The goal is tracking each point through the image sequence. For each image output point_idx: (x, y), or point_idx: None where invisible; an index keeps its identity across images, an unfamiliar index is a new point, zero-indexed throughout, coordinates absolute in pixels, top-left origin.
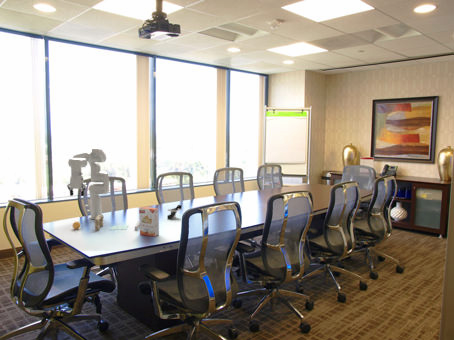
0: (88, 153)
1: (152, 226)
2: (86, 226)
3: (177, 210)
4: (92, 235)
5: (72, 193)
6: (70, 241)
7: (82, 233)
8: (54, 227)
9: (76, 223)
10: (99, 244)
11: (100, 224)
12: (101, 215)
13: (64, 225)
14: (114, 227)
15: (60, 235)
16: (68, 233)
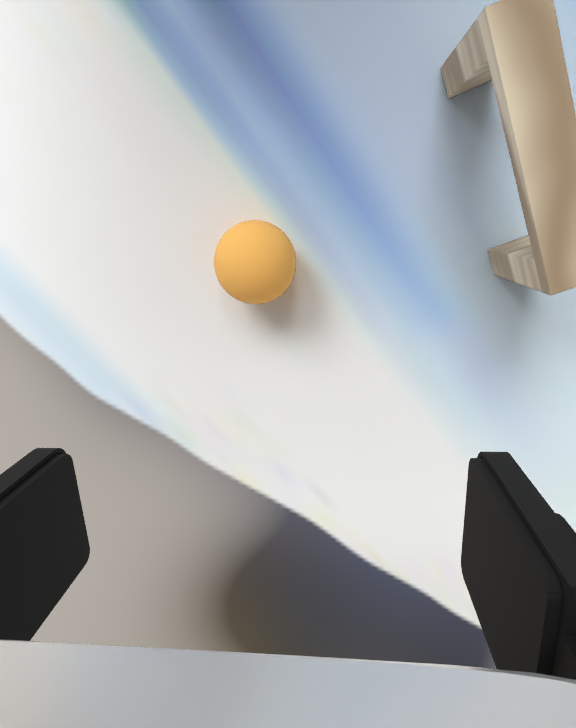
0: None
1: None
2: (294, 132)
3: None
4: (554, 429)
5: (38, 528)
6: (462, 594)
7: (423, 391)
8: (14, 264)
9: (271, 290)
10: None
11: (472, 83)
12: (551, 52)
13: (35, 161)
14: None
15: (276, 480)
16: (298, 417)
